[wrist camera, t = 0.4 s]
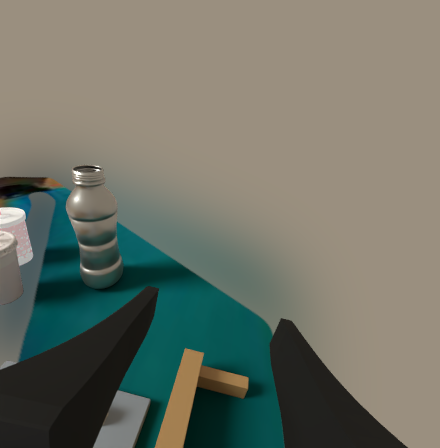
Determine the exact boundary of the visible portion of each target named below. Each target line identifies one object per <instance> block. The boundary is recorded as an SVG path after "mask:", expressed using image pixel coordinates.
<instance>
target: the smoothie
mask: <svg viewBox="0 0 440 448" xmlns="http://www.w3.org/2000/svg"><path fill="white" fill-rule="evenodd" d="M17 245H18V241H17V240H16V237H15V235H14V234H12V233H10V232H5V231H0V305H5V304H8V303H11V302H13V301H15V300H16V299H18V298H19V297H20V296H21V295H22V294H23V285H22V280H21V274H20V268H19V262H18V257H17V251H16V247H17Z"/></svg>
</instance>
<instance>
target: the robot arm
mask: <svg viewBox="0 0 440 448" xmlns="http://www.w3.org/2000/svg"><path fill="white" fill-rule="evenodd" d="M158 291H159V288H155V287H150V286H148V287H146V288H145V289H144V290H142V291H141V292H140V293H139V294H138V295H137V296H135V297H134V298H133V299H132V300H131V301H129V302H128V303H127V304H125V305H124V306H123V307H122V308H120V309H119V310H117V311H116V312H115V313H113V314H112V315H110V316H109V317H107V318H106V319H105V320H103V321H101V322H100V323H98V324H97V325H95V326H93V327H92V328H90V329H88V330H87V331H85V332H83V333H81V334H80V335H78V336H76V337H74V338H72V339H70V340H68V341H66V342H64V343H62V344H60V345H58V346H56V347H54V348H52V349H50V350H47V351H45V352H43V353H41V354H39V355H36V356H34V357H31V358H29V359H27V360H24V361H21V362H19V363H16V364H13V365H11V366H8V367H6V368H3V369H0V448H93V447H94V444H95V442H96V440H97V437H98V435H99V432H100V430H101V428H102V425H103V423H104V421H105V418H106V416H107V414H108V411H109V409H110V407H111V404H112V402H113V400H114V397H115V395H116V393H117V391H118V388H119V386H120V384H121V382H122V380H123V378H124V376H125V374H126V372H127V370H128V368H129V366H130V364H131V363H132V361H133V359H134V357H135V355H136V353H137V351H138V350H139V348H140V346H141V344H142V342H143V340H144V338H145V336H146V334H147V332H148V330H149V327H150V325H151V322H152V320H153V317H154V313H155V307H156V302H157V296H158ZM270 357H271V366H272V371H273V376H274V381H275V386H276V391H277V396H278V401H279V406H280V412H281V418H282V425H283V434H284V443H285V448H408V447H406V446H405V445H404V444H403V443H402V442H400V441H399V440H398V439H397V438H396V437H395V436H394V435H393V434H391V433H390V432H389V431H388V430H387V429H386V428H385V427H383V426H382V425H381V424H380V423H379V422H378V421H377V420H376V419H375V418H374V417H373V416H372V415H371V414H369V412H368V411H367V410H366V409H364V408H363V407H362V406H361V405H360V404H359V403H358V402H357V401H356V400H355V399H354V398H353V396H352V395H351V394H350V393H349V392H348V391H347V390H346V389H345V388H344V387H343V386H342V385H341V384H340V382H339V381H338V380H337V379H336V378H335V377H334V376H333V374H332V373H331V372H330V371H329V370H328V369H327V367H326V366H325V365H324V363H322V361H321V360H320V358H319V357H318V356H317V355H316V353H315V352H314V351H313V349H312V348H311V347H310V345H309V344H308V343H307V341H306V340H305V339H304V337H303V336H302V334H301V333H300V332H299V330H298V329H297V328H296V326H295V325H294V324H293V322H292V321H290V320H286V319H282V318H281V320H280V322H279V324H278V327H277V329H276V331H275V333H274V335H273V338H272V340H271V342H270Z"/></svg>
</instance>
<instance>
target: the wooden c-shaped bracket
mask: <svg viewBox="0 0 440 448" xmlns="http://www.w3.org/2000/svg"><path fill="white" fill-rule="evenodd" d="M203 354H204V353H201V352H197V351H193V350H189V349H186V348H185V351H184V354H183V357H182V361H181V364H180V367H179V371H178V374H177V377H176V380H175V384H174V387H173V390H172V393H171V397H170V400H169V403H168V407H167V410H166V413H165V416H164V420H163V423H162V426H161V430H160V433H159V436H158V439H157V443H156V446H155V448H183V446H184V442H185V437H186V433H187V428H188V424H189V419H190V415H191V410H192V406H193V401H194V396H195V392H196V387H201V388H205V389H209V390H212V391H216V392H220V393H224V394H228V395H231V396H235V397H239V398H243V399H244V397H245V395H246V392H247V390H248V377H245V376H241V375H237V374H233V373H229V372H225V371H221V370H217V369H213V368H210V367H206V366H202V365H201V364H202V359H203Z"/></svg>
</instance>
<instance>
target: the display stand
mask: <svg viewBox="0 0 440 448" xmlns="http://www.w3.org/2000/svg"><path fill="white" fill-rule="evenodd" d="M13 364H16V363H15V362H11V361H8V360H7V361H6V362H5V363H4V364H3V365H2V366H1V367H0V369H3V368H6V367H8V366H11V365H13ZM149 407H150V399H148V398H144V397H140V396H137V395H133V394H129V393H126V392H122V391H117V393H116V395H115V397H114V400H113V402H112V404H111V407H110V409H109V411H108V414H107V416H106V418H105V421H104V423H103V425H102V428H101V430H100V432H99V435H98V437H97V440H96V442H95V444H94V447H93V448H135V445H136V442H137V439H138V437H139V434H140V431H141V428H142V426H143V423H144V420H145V418H146V415H147V412H148V409H149Z"/></svg>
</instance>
